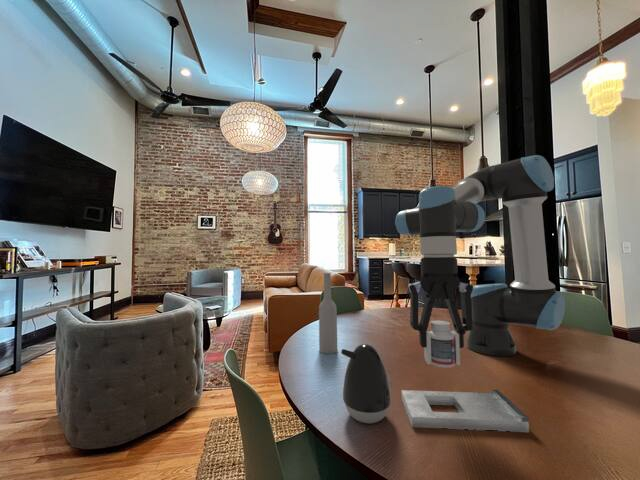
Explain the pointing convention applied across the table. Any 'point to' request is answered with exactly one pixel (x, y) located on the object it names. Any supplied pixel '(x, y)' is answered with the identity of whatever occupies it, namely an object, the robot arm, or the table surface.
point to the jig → (464, 411)
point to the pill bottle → (442, 344)
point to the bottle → (327, 320)
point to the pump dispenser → (366, 385)
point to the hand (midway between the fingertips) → (441, 362)
